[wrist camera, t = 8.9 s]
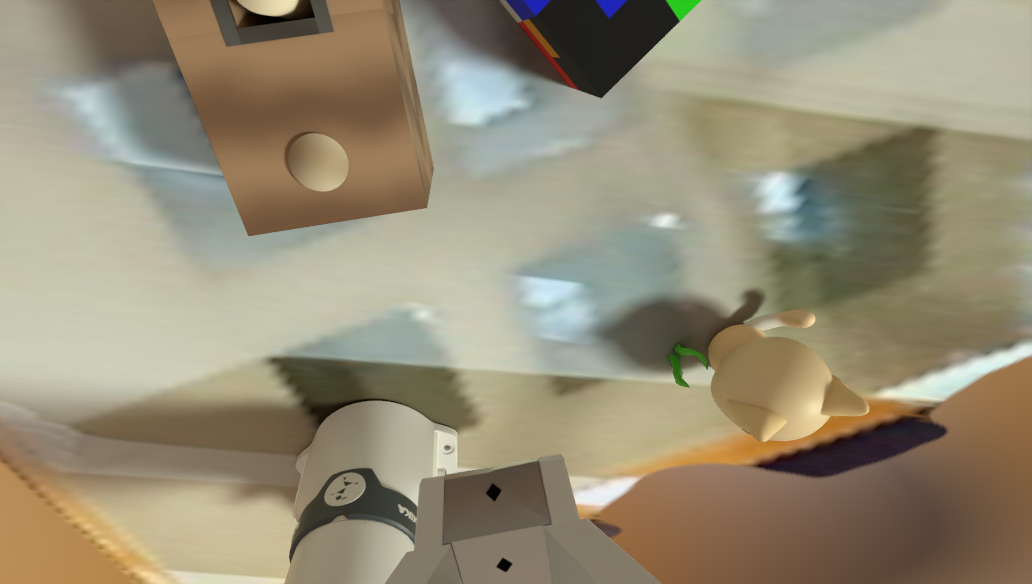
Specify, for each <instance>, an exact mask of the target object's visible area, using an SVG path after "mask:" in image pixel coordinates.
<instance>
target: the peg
mask: <svg viewBox="0 0 1032 584" xmlns="http://www.w3.org/2000/svg"><path fill="white" fill-rule="evenodd" d="M237 1H238V2H239V3H240V4H241V5H242V6H244V7H245V8H247V9H248V10H250V11H252V12H255V13H257V14H262V15H268V16H274V17H280V18H286V19H292V20H302V19H309V18H315V15H314V12H313V8H312V5H311V1H310V0H237Z"/></svg>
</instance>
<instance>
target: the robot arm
mask: <svg viewBox="0 0 1032 584" xmlns="http://www.w3.org/2000/svg"><path fill="white" fill-rule="evenodd" d="M445 445H449V446H445ZM457 467H458V434H457V432H456V431H455V430H454V429H452V428H450V427H447V426H444V425H440V424H436V423H433V422H432V421H430V420H428V419H427V418H426V417H424V416H423V415H422V414H420V413H419V412H417V411H415V410H413V409H411V408H409V407H407V406H404V405H401V404H397V403H393V402H387V401H365V402H359V403H355V404H351V405H348V406H345V407H343V408H341V409H339V410H337V411H335V412H334V413H332V414H331V415H330V416H328V417H327V418H326V419H325V420H324V421H323V422H322V424H321V425H320V426H319V428H318V430H317V432H316V434H315V437H314V439H313V441H312V443H311V445H310V446H309V447H307V448H306V449H305V450H304V451H302V452H301V453H300V454H299V456H298V457H297V460H296V464H295V468H296V470H297V471H298V472H299V474H300V475H301V479H300V483H299V486H298V491H297V495H296V499H295V503H294V507H293V517H294V518H296V520H297V522H298V524H297V527H296V528H295V530H294V534H293V538H292V543H291V549H290V555H289V558H290V567H289V571H288V574H287V577H286V580H285V583H284V584H662V583H660V582H659V581H658V580H657V579H656V578H655V577H654V576H652V575H651V574H650V573H649V572H648V571H647V570H646V569H644V568H643V567H642V566H641V565H640V564H639V563H637V562H636V561H635V560H634V559H633V558H632V557H631V556H629V555H628V554H627V553H626V552H625V551H624V550H623V549H622V548H620V547H619V546H618V545H617V544H616V543H615V542H614V541H612V540H611V539H610V538H609V537H608V536H607V535H606V534H604V533H603V532H602V531H601V530H600V529H599V528H598V527H596V526H595V525H594V524H593V523H592V522H591V521H590V520H588V519H587V518H586V519H580V518H579V514H578V511H577V507H576V503H575V499H574V496H573V492H572V488H571V484H570V481H569V477H568V473H567V469H566V466H565V462H564V458H563V456H562V455H561V454H557V455H552V456H546V457H541V458H538V459H537V458H535V459H530V460H525V461H520V462H514V463H509V464H504V465H499V466H494V467H491V468H485V469H478V470H472V471H466V472H459V473H457Z"/></svg>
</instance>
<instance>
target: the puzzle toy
mask: <svg viewBox="0 0 1032 584" xmlns="http://www.w3.org/2000/svg"><path fill="white" fill-rule="evenodd" d="M499 1H500V2H501V3H502V5H503V6H504V7H505V8H506V10H507V11H508V12H509V13H510V14H511V16H512V17H513V18H514V19H515V20H516V22H517V23H518V24H519V25H520V27H521V28H522V29H523V30H524V31H525V33H526V34H527V35H528V36H529V37H530V39H531V40H532V41H533V42H534V44H535V45H536V46H537V47H538V48H539V50H540V51H541V52H542V53H543V54H544V56H545V57H546V58H547V59H548V61H549V62H550V63H551V64H552V65H553V67H554V68H555V69H556V70H557V71H558V73H559V74H560V75H561V76H562V78H563V79H564V80H565V81H566V82H567V84H568V85H569V86H570V87H571V88H574V89H577V90H580V91H582V92H585V93H588V94H591V95H594V96H597V97H600V98H602V97H603V96H604V95H605V94H606V93H607V92H608V91H609V90H610V89H611V88H612V87H613V86H614V85H615V84H616V83H617V82H618V81H619V80H620V79H621V78H622V77H624V76H625V75H626V74H627V73H628V72H629V71H630V70H631V69H632V68H633V67H634V66H635V65H636V64H637V63H638V62H639V61H640V60H641V59H642V58H643V57H644V56H645V55H646V54H647V53H648V52H649V51H650V50H651V49H652V48H653V47H654V46H655V45H656V44H657V43H658V42H659V41H660V40H661V39H662V38H663V37H664V36H665V35H666V34H667V33H668V32H669V31H670V30H671V29H672V28H673V27H675V26H676V25H677V24H678V23H679V22H680V21H681V20H682V19H683V18H684V17H685V16H686V15H687V14H688V13H689V12H690V11H691V10H692V9H693V8H694V7H695V6H696V5H697V4H698V3H699V2H700V1H701V0H499Z"/></svg>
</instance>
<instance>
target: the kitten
mask: <svg viewBox="0 0 1032 584" xmlns="http://www.w3.org/2000/svg"><path fill="white" fill-rule="evenodd" d="M814 322H815V316H814V315H813V314H812V313H811V312H809V311H806V310H801V309H793V310H789V311H785V312H781V313H776V314H769V315H764V316H760V317H757V318H754V319H752V320H750V321H748V322H746V323H745V324H740V325H734V326H730V327H728V328H726V329H724V330H722V331H721V332H719V333H718V334H717V335H716V336H715V337H714V338H713V339H712V341H711V342H710V344H709V348H708V355H709V361H710V365H711V367H712V368H713V370H714V371H715V373H714V375H713V378H712V381H711V393H712V396H713V399H714V401H715V403H716V404H717V406H718V407H719V408H720V410H721V411H722V412H723V413H724V414H725V415H726V416H727V417H728V418H729V419H730V420H731V421H732V422H734V423H735V424H736V425H737V426H739V427H740V428H742V430H744V431H745V432H747V433H749V434H751V435H752V436H753V437H754V438H756V439H757V440H759V441H762V442H764V441H767V440H774V441H790V440H795V439H799V438H803V437H805V436H808V435H810V434H812V433H813V432H815V431H816V430H818V429H819V428H820V427H821V426H823V425H824V423H825V422H826V421H827V420H828V419H829V417H830V416H861V415H865V414H867V413H868V412H869V405H868V404H867V403H866V401H865V400H864V399H862V398H861V397H860V396H858V395H857V394H855V393H854V392H853V391H852V390H850V389H849V388H848V387H847V386H846V385H845V384H844V383H843V382H842V381H841V380H840V379H838V378H837V377H836V376H834V375H831V373H830V371H829V369H828V367H827V366H826V364H825V363H824V362H823V360H822V359H821V358H820V357H819V356H818V355H817V354H816V353H815V352H814V351H813V350H812V349H810V348H809V347H807V346H806V345H804V344H802V343H800V342H798V341H795V340H792V339H788V338H783V337H766V336H765V335H764V333H763V332H762V331H761V330H767V329H771V328H775V327H779V326H792V327H798V328H806V327H809V326H811V325H812V324H814ZM674 350H675V351H676V352H677V353H678V354H679V355H680V356H697V357H698V358H699V359H700V360H701V362H702V363H703V364H704V366H705V367H706V369H707V370H708V364H707V360H706V358H705V356H704V355H703V354H702V353H701V352H698V351H696V350H693V349H689V348H683V347H681V346H680V345H679V344H678V345H676V346H675V347H674ZM668 357H669V359H670V362H671V366H672V367H673V374H674V378H675V381H676V383H677V384H679V385H681V386H684V387H689V385H688V384H687V383H686V382H685V381H684V380H683V379H682V368H681V364H680V360H679V357H678V355H677V354H674V355H668Z"/></svg>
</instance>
